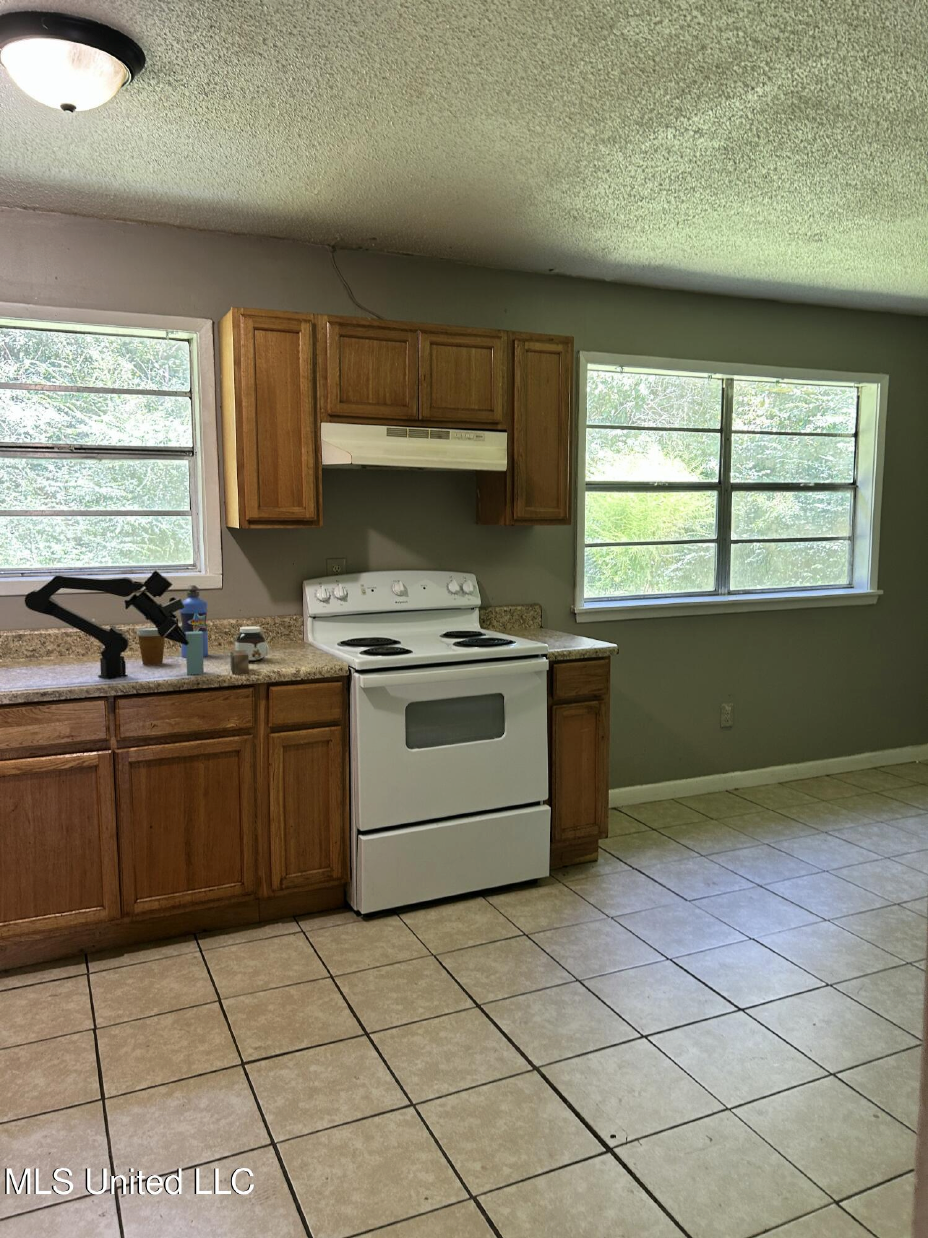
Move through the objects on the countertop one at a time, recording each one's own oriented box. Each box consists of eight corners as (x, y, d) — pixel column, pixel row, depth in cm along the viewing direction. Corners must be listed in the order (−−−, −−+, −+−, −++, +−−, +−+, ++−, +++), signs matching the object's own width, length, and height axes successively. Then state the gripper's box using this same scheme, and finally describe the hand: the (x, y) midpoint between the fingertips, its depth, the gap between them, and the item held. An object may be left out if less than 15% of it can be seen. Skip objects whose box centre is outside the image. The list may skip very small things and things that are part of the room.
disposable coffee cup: (131, 665, 307) (130, 629, 306) (151, 660, 316) (150, 626, 315) (153, 667, 304) (152, 630, 302) (173, 662, 312) (172, 627, 311)
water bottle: (176, 655, 327) (174, 585, 324) (201, 653, 333) (199, 584, 330) (187, 659, 320) (185, 587, 317) (213, 656, 326) (211, 585, 323)
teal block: (187, 675, 289) (185, 633, 288) (186, 672, 294) (185, 631, 293) (203, 674, 291) (202, 633, 289) (203, 671, 296) (202, 631, 294)
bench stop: (232, 674, 291) (232, 655, 290) (230, 669, 300) (230, 650, 300) (248, 673, 292) (248, 654, 292) (246, 668, 302) (246, 650, 301)
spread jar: (237, 664, 311) (236, 629, 309) (232, 659, 321) (232, 625, 320) (273, 662, 315) (272, 628, 314) (267, 657, 325) (266, 624, 324)
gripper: (167, 592, 278) (206, 627, 283) (168, 587, 296) (205, 620, 300) (141, 619, 277) (180, 653, 281) (143, 612, 295) (180, 645, 299)
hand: (187, 642), depth 291 cm, fingers open, 9 cm apart
